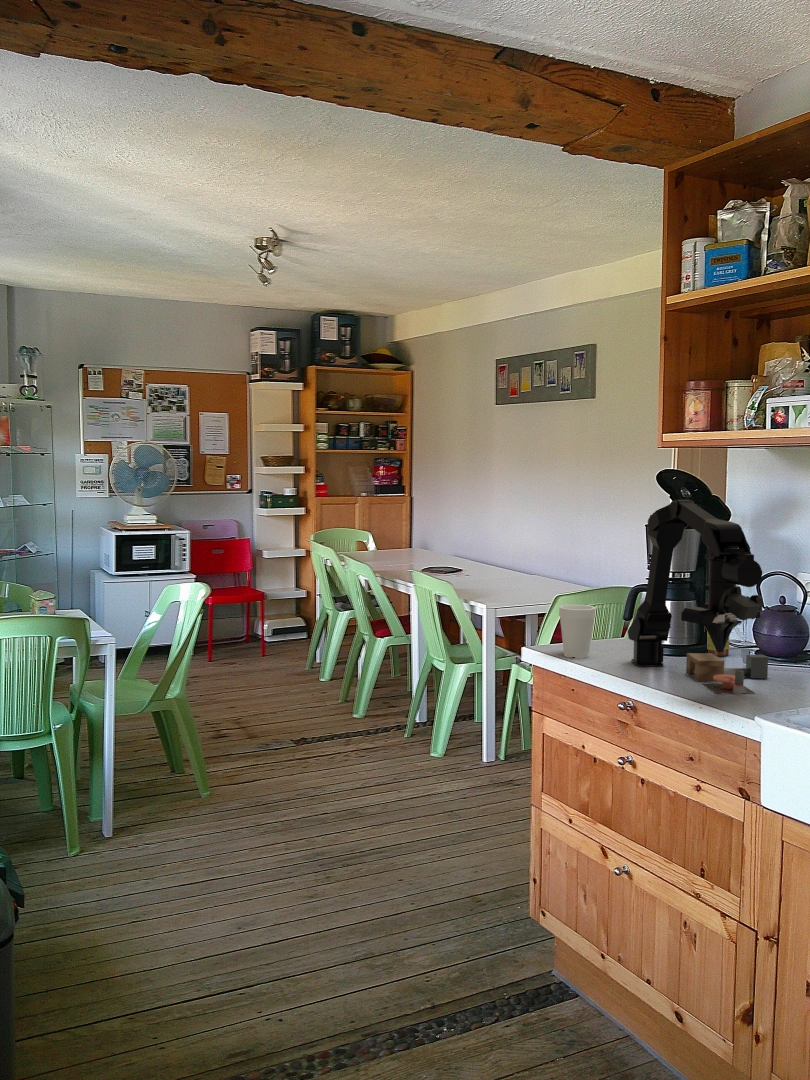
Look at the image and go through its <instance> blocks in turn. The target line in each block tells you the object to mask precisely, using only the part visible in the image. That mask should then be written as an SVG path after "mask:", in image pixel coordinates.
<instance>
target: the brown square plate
mask: <svg viewBox="0 0 810 1080" xmlns="http://www.w3.org/2000/svg"><path fill="white" fill-rule="evenodd" d="M700 683H701V685H702V686H703V685H704V686H703V687H705V686H706V687H707V688H706V687H705V688H706V689H708V688H709V689H710V690H711V691H710V690H709V689H708V690H709V691H710V692H712V691H713V692H714V693H713V692H712V693H713V694H715V693H749V694H748V695H755V694H756V692H754V691H753V690H751V689H750V688H749V687H746V686H745V685H742V687H735V686H734V687H733V689H725V688H722V683H721V682H700Z"/></svg>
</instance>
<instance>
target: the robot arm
mask: <svg viewBox="0 0 810 1080" xmlns="http://www.w3.org/2000/svg"><path fill="white" fill-rule="evenodd" d="M687 527H690V528H692V529H693V530H694V531H696V532H697V533H698V534H700V535H701V542H702V543H703V544H704V545H705V546H706V547H707V549H709V551H708V552H707V553H705V555H704V558H705V559H707V560H709V561H708V584H704V586H703V589H704V590H706V591H707V601H708V603H707V602H706V603H705V602H704V603H703V607H701V606H700V607H699V606H690V607H684V608H683V609H682V610H681V611H680V612H681V614H680V615H681V616H680V619H681V621H683V622H688V623H693V624H698V625H703V626H704V629H705V628H706V630H707V631H708V633H709V635H710V637H711V640H712V642H713V644H714V646H715V649H716V651H717V652H723V651H724V648H725V646H726V643H727V641H728V638H729V639H730V635H731V633H732V631H733V629H734V628H735V627H737V626H738V625H740V624H742V623H743V621H746V620H750V619H751V620H755V619H760V618H761V612H762V611H763V606H764V603H763V601H764V600H763V596H761V595H759V594H753V595H751V596H746V595H742V588H741V586H742V587H746V588H752V587H755V586H757V585H759V583H760V582H761V579H762V578H763V569H762V567H761V565H760V563H759V562H757V561H756V560H755V554H752V551H751V546H750V545H749V542H748V540H747V538H746V535H745V532H744V531H743V528H742V527H741V525H740V524H739V523H736V522H733V521H729V520H723V519H720V518H717V517H716V516H713V515H712V514H710V513H709V512H708V511H706V510H704V509H703V508H702V507H700V506H699V505H697V504H696V502H695V501H694V500H691V499H675V500H672V501H671V502H670V503H669V504H667V505H665V506H663V507H661V508H658V509H656V510H655V511H654V512H653V513H652V514H650V515H649V518H648V520H647V536H648V537H649V540H650V541H651V544H652V548H651V549H652V550H651V557H650V565H649V572H648V579H647V584H646V593H645V599H644V601H643V602H642V603H641V604H640V606H639V607H638V608H637V610H636V614H635V617H634V620H633V621H632V623H631V624H630V626H629V627H628V630H627V636H628V639H629V640H631V641H633V658H632V659H631V662H632V663H633V664H634V665H636V666H637V667H663V666H664V645H663V644H662V642H663V641H664V642H665V641H666V642H667V641H668V638H669V634H670V629H671V625H672V623H671V622H672V618H673V615H672V613H671V612H670V611H669V608H667V604H666V602H667V601H666V600H667V596H668V587H669V581H670V575H671V568H672V560H673V556H674V555H673V554H674V549H675V548H676V547H677V546H678V544H679V543H680V542H681V541H682V539H683V537H684V536H683V535H684V531H685V529H687ZM705 608H707V609H705ZM716 613H718V614H716Z"/></svg>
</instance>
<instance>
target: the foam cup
mask: <svg viewBox="0 0 810 1080" xmlns="http://www.w3.org/2000/svg"><path fill="white" fill-rule="evenodd" d="M558 608H559V609H558V611H559V612H558V616H559V619H560V620H559V621H560V629H561V639H562V648H563V655H566V656H568V657H567V658H569V657H575V658H574V659H585V658H584V657H587V658H588V657H589V654H590V649H591V640H592V634H593V630H594V627H593V626H594V621H595V618H596V607H595V606H593V605H587V604H578V603H577V604H572V603H571V604H570V603H569V604H562V605H559V606H558ZM566 656H565V657H566Z"/></svg>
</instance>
